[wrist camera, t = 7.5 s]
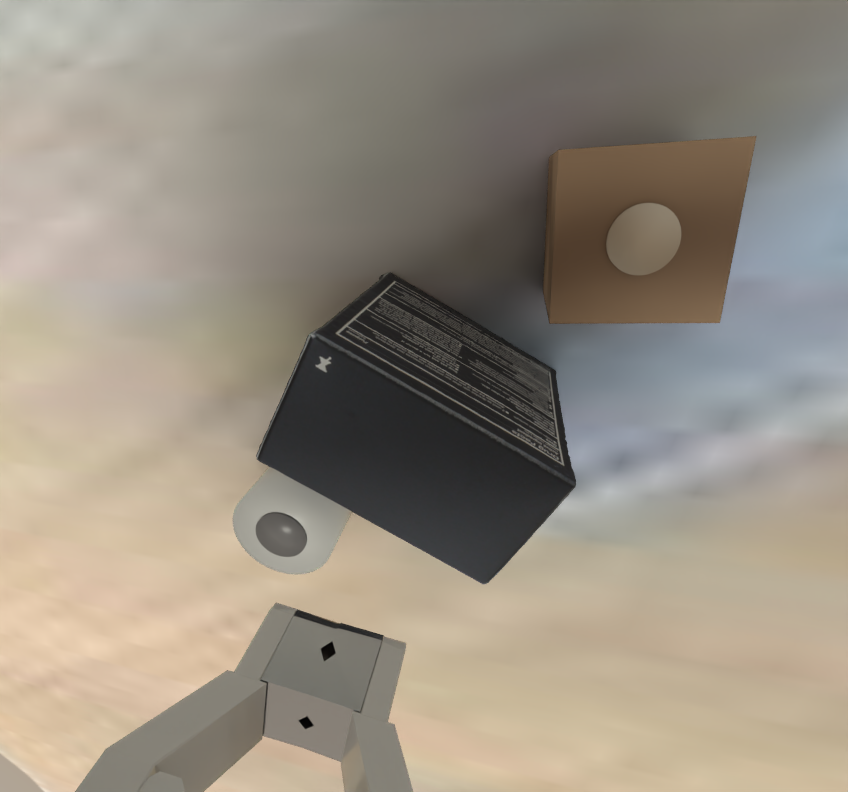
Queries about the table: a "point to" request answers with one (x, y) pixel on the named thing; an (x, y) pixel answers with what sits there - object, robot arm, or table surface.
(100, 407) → the table surface
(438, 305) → the small box
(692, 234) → the walnut cube
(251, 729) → the robot arm
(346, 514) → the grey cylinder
